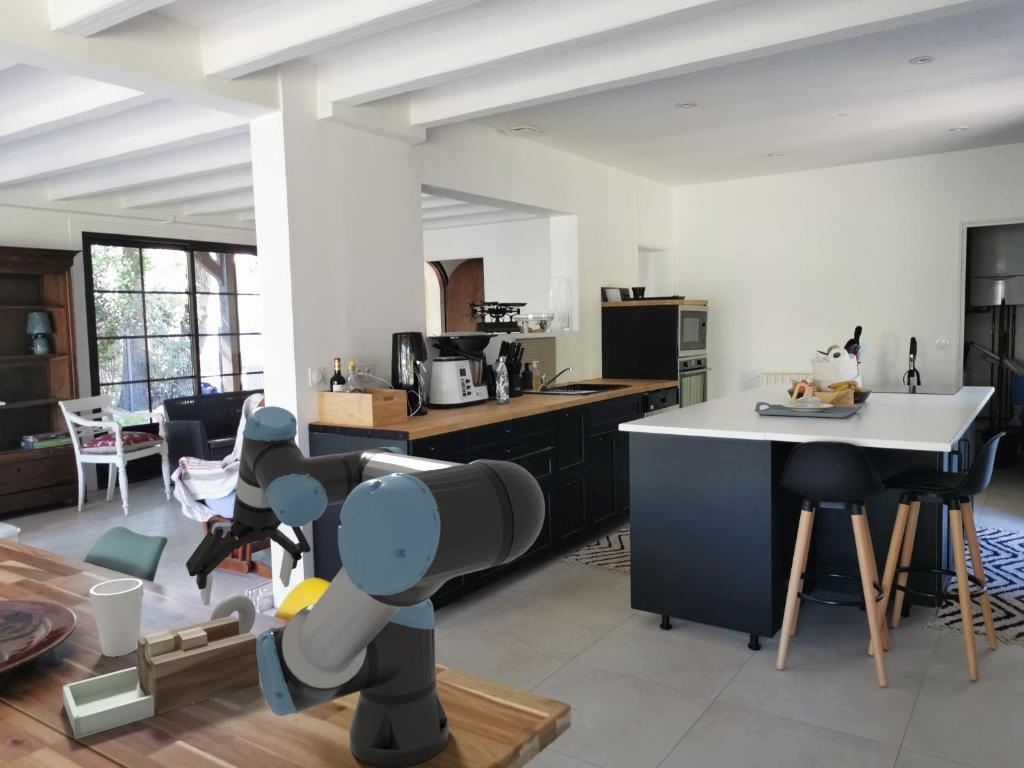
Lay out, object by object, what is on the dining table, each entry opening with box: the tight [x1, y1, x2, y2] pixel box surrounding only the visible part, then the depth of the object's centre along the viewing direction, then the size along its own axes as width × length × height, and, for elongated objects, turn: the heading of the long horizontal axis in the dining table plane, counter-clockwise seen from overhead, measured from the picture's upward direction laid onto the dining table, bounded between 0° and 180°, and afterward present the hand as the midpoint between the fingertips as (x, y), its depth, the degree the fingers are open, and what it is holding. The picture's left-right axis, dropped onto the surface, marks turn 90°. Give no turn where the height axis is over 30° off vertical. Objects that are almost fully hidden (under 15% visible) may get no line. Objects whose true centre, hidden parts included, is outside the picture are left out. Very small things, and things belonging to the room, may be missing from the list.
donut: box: [209, 593, 256, 635], centre depth 156 cm, size 10×4×10 cm, turn 146°
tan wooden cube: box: [143, 630, 175, 664], centre depth 136 cm, size 4×4×4 cm
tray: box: [62, 666, 155, 740], centre depth 131 cm, size 14×12×3 cm
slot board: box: [137, 614, 261, 715], centre depth 139 cm, size 14×17×8 cm
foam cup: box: [89, 578, 145, 658], centre depth 154 cm, size 10×9×13 cm
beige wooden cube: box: [177, 627, 207, 651], centre depth 137 cm, size 4×4×4 cm
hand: (245, 590), depth 134 cm, fingers open, 13 cm apart
